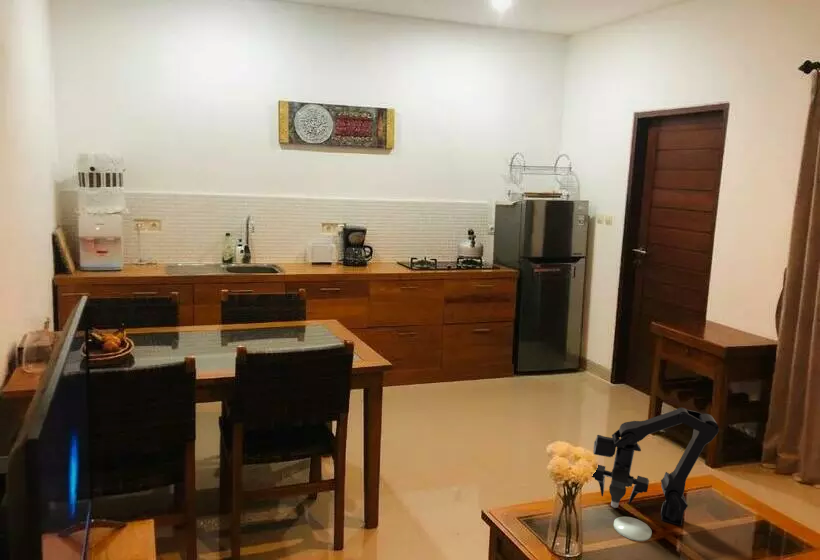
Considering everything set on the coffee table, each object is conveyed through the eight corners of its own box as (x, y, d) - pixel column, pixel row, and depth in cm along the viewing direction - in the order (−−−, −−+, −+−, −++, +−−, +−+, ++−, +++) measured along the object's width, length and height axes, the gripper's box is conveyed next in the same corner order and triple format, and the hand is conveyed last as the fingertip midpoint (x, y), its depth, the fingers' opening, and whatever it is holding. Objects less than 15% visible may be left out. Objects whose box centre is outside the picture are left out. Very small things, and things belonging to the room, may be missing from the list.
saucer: (652, 526, 222) (652, 523, 222) (650, 545, 211) (650, 542, 211) (615, 515, 226) (616, 512, 226) (611, 533, 216) (612, 530, 215)
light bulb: (623, 513, 228) (628, 487, 226) (606, 510, 229) (611, 484, 227) (621, 504, 234) (626, 479, 231) (605, 501, 235) (610, 476, 232)
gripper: (592, 461, 223) (585, 502, 227) (650, 477, 217) (641, 519, 220) (597, 448, 233) (589, 487, 237) (652, 463, 227) (644, 503, 230)
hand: (615, 499), depth 231 cm, fingers open, 9 cm apart
